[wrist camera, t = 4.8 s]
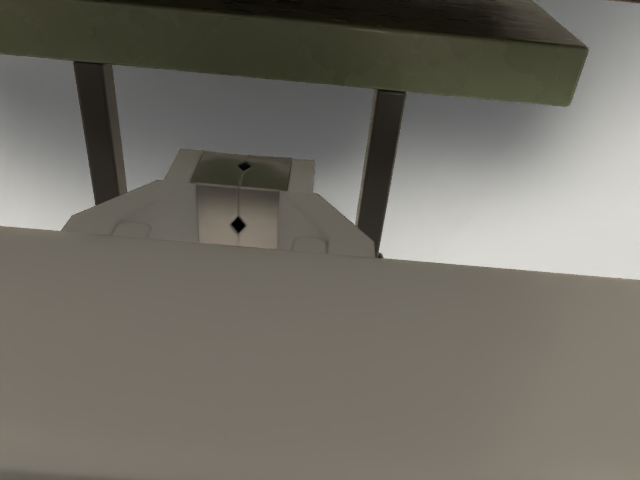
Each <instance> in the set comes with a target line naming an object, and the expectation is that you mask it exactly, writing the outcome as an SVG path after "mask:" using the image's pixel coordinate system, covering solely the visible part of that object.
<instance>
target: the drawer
mask: <svg viewBox="0 0 640 480" xmlns="http://www.w3.org/2000/svg"><path fill="white" fill-rule="evenodd" d="M588 51H589V50H588V47H587V46H586V45H585V44H583V43H582V42H581V41H580V40H579V39H577V38H576V37H575V36H574V35H573V34H572V33H570V32H569V31H568V30H567V29H566V28H565V27H563V26H562V25H561V24H560V23H559V22H557V21H556V20H555V19H554V18H553V17H552V16H550V15H549V14H548V13H547V12H546V11H544V10H543V9H542V8H541V7H540V6H539V5H537V4H536V3H535V2H534V1H533V0H0V54H5V55H16V56H26V57H37V58H48V59H58V60H69V61H74V63H73V65H74V71H75V78H76V84H77V90H78V97H79V103H80V110H81V116H82V122H83V129H84V135H85V141H86V148H87V154H88V160H89V167H90V173H91V179H92V186H93V192H94V198H95V205H99V204H101V203H103V202H106V201H108V200H111V199H113V198H115V197H118V196H120V195H123V194H125V193H127V186H126V178H125V169H124V161H123V153H122V144H121V136H120V127H119V119H118V111H117V102H116V94H115V86H114V77H113V69H112V65H123V66H134V67H144V68H155V69H166V70H177V71H187V72H198V73H209V74H220V75H230V76H241V77H252V78H262V79H273V80H284V81H295V82H305V83H316V84H327V85H338V86H348V87H359V88H370V89H375V91H374V98H373V105H372V112H371V118H370V125H369V132H368V139H367V146H366V153H365V160H364V167H363V174H362V181H361V188H360V195H359V202H358V209H357V216H356V223H355V226H356V227H357V228H359V229H360V230H361V231H362V232H363V233H364V234H366V235H367V236H368V237H369V238H370V239H371V240H373V241H374V247H375V258H383V255H382V254H381V253H379V247H380V241H381V236H382V230H383V225H384V219H385V213H386V208H387V202H388V196H389V191H390V185H391V179H392V174H393V168H394V162H395V157H396V151H397V146H398V140H399V134H400V129H401V123H402V117H403V112H404V106H405V100H406V95H407V94H406V92H413V93H424V94H434V95H445V96H456V97H467V98H477V99H488V100H499V101H510V102H520V103H531V104H542V105H552V106H563V107H567V106H569V105H570V103H571V100H572V98H573V95H574V92H575V89H576V86H577V83H578V80H579V77H580V75H581V72H582V69H583V66H584V63H585V60H586V57H587V54H588Z"/></svg>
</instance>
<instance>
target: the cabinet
mask: <svg viewBox="0 0 640 480" xmlns="http://www.w3.org/2000/svg"><path fill="white" fill-rule="evenodd" d="M609 1H619V2H629V3H639V4H640V0H609Z"/></svg>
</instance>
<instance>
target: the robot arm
mask: <svg viewBox="0 0 640 480" xmlns="http://www.w3.org/2000/svg"><path fill="white" fill-rule="evenodd" d="M314 173H315V160H310V159H292V158H285V157H270V156H254V155H241V154H231V153H222V152H212V151H204V150H196V149H180V150H179V152H178V154H177V156H176V158H175V160H174V162H173V164H172V166H171V167H170V169H169V171H168V173H167V175H166V177H165V179H164V181H162V180H156V181H154V182H151V183H149V184H147V185H144V186H142V187H139V188H137V189H135V190H132V191H130V192H127V193H125V194H123V195H120V196H118V197H115V198H113V199H111V200H108V201H106V202H103V203H101V204H99V205H96V206H94V207H91V208H89V209H87V210H84V211H82V212H79V213H77V214H75V215H72V216H71V218H70V219H69V220H68V222H67V223H66V224H65V226H64V227H63V229H62V230H61V231H54V230H42V229H30V228H18V227H6V226H0V480H640V280H634V279H622V278H610V277H598V276H586V275H574V274H563V273H551V272H539V271H527V270H515V269H503V268H491V267H480V266H468V265H456V264H444V263H432V262H420V261H408V260H397V259H385V258H375V247H374V241H373V240H371V239H370V238H369V237H368V236H367V235H366V234H364V233H363V232H362V231H361V230H360V229H359V228H357V227H356V226H355V225H354V224H353V223H352V222H350V221H349V220H348V219H347V218H346V217H345V216H343V215H342V214H341V213H340V212H339V211H338V210H336V209H335V208H334V207H333V206H332V205H331V204H329V203H328V202H327V201H326V200H325V199H324V198H323V197H321V196H320V195H319V194H313V186H314Z"/></svg>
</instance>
